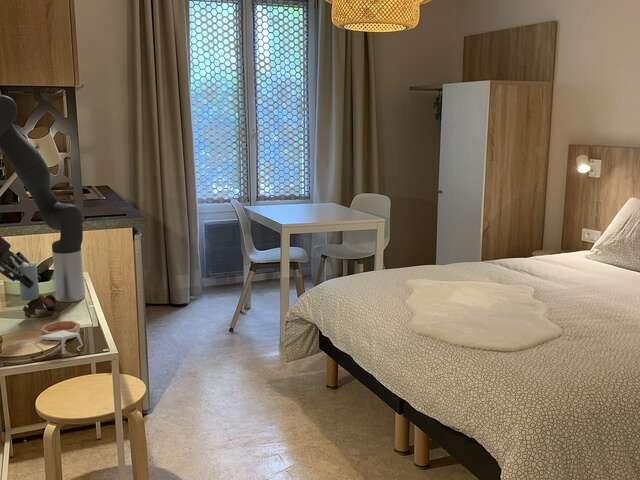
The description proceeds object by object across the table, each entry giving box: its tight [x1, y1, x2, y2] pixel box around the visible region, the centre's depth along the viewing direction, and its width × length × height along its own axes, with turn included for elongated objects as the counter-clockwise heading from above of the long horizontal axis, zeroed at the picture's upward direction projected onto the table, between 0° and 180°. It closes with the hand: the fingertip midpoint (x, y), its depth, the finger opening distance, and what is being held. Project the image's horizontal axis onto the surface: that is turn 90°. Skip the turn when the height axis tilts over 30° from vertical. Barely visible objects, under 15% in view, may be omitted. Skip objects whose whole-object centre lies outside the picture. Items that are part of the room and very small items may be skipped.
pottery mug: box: [22, 294, 60, 321], centre depth 207 cm, size 12×10×8 cm
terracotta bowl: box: [40, 320, 81, 341], centre depth 192 cm, size 10×10×2 cm
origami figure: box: [33, 330, 84, 355], centre depth 181 cm, size 12×8×5 cm
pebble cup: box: [18, 261, 40, 301], centre depth 191 cm, size 5×5×11 cm
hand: (35, 283), depth 192 cm, fingers closed on pebble cup, 5 cm apart
